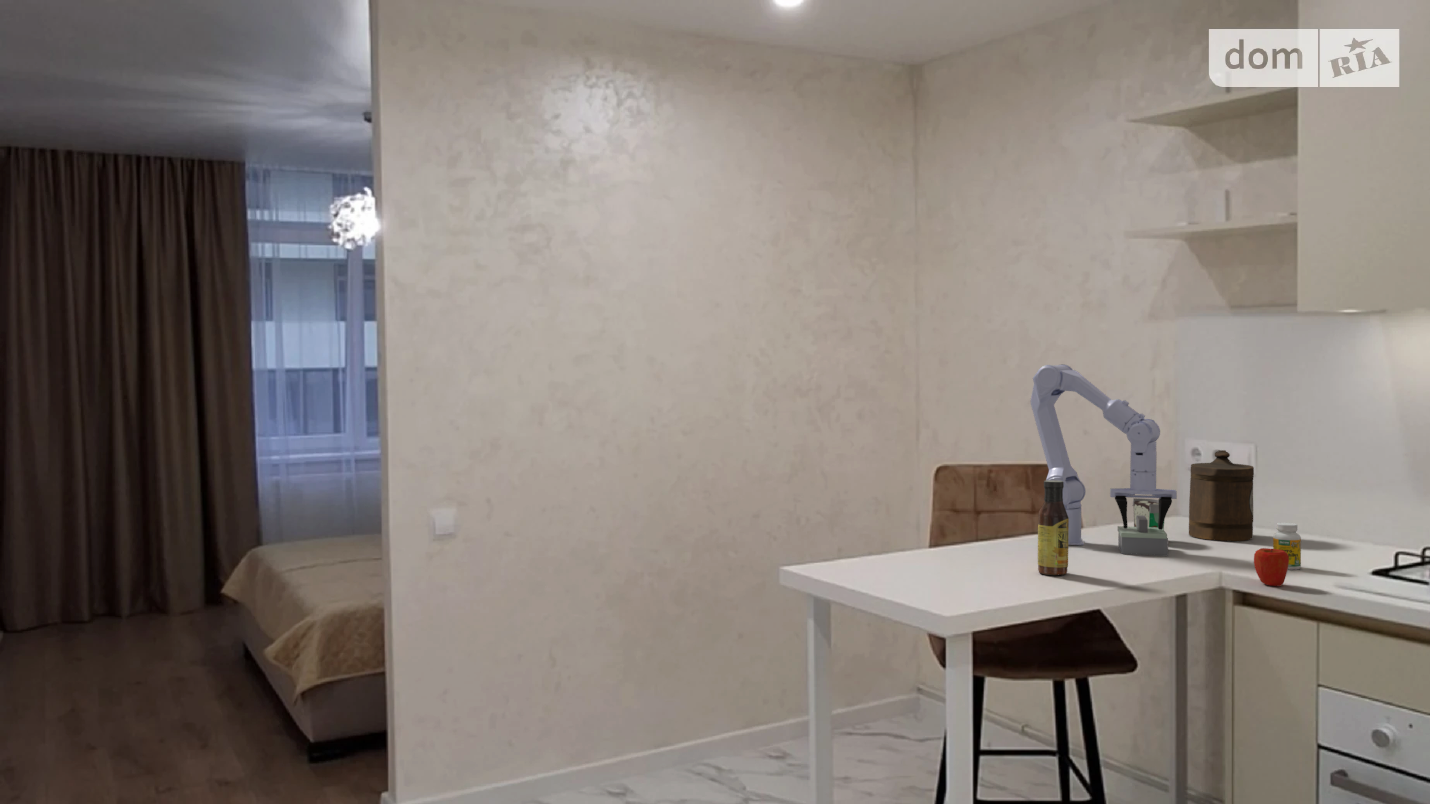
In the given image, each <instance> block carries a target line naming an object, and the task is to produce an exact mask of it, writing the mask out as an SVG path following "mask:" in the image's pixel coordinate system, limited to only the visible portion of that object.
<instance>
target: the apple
mask: <svg viewBox="0 0 1430 804" xmlns="http://www.w3.org/2000/svg"><path fill="white" fill-rule="evenodd" d="M1288 564H1289V556H1288V554H1287V553H1286V552H1285V551H1283V550H1279V549H1273V548H1269V547H1267V548H1266V547H1263V548H1262V547H1261V548H1258V549H1257V550H1256V551H1255V553H1254V554H1253V565H1254V570H1255V572H1256V575H1257V577H1258V579H1259V581H1260V582H1261V583H1262V584H1264V585H1266V586H1270V587H1281V586H1282V585H1283V584H1284V583H1285V580H1286V577H1287V573H1288V570H1287V569H1288Z"/></svg>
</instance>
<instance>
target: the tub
mask: <svg viewBox="0 0 1430 804" xmlns="http://www.w3.org/2000/svg"><path fill="white" fill-rule="evenodd" d="M1117 532H1118V531H1117ZM1117 544H1118V545H1117V547H1118V549H1119V551H1120V554H1121V555H1134V556H1135V555H1136V556H1139V555H1140V556H1160V557H1161V556H1162V557H1163V556H1165V557H1167V556H1169V537H1167V539H1160V538H1131V537H1121V536H1120V534H1119V532H1118V543H1117Z"/></svg>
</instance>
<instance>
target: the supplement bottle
mask: <svg viewBox="0 0 1430 804" xmlns="http://www.w3.org/2000/svg"><path fill="white" fill-rule="evenodd" d="M1276 530H1277V532H1275V533H1274V534H1273V536H1272V543H1273V545H1272V546H1273V547H1272V549H1279V550H1283V551H1285V552H1286V553H1287V554H1288V556H1289V564H1288V569H1287V571H1294V570H1295V571H1297V570H1300V569H1301V567H1302V537H1301V535H1300V534H1299V533H1297V532H1298V524H1297V523H1292V522H1277V523H1276Z"/></svg>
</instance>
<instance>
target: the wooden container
mask: <svg viewBox="0 0 1430 804" xmlns="http://www.w3.org/2000/svg"><path fill="white" fill-rule="evenodd" d="M1230 456H1231V454H1230V453H1229V451H1227V450H1225V449H1223V450H1222V449H1221V450H1220V449H1219V450H1218V451H1215V452H1214V457H1215V458H1214V459H1213V461H1211V462H1198V463H1197V462H1196V463H1192V464H1191V465H1190V479H1189V480H1190V481H1189V501H1188V503H1189V504H1188V535H1189V536H1190V537H1192V538H1196V539H1199V540H1207V541H1215V542H1245V541H1250V540H1252V539H1253V535H1254V534H1253V533H1254V474H1255V469H1254V468H1255V467H1254V466H1253V465H1250V464H1244V463H1243V464H1240V463H1233V462H1232V461H1231V460H1230V459H1229V457H1230Z"/></svg>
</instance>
